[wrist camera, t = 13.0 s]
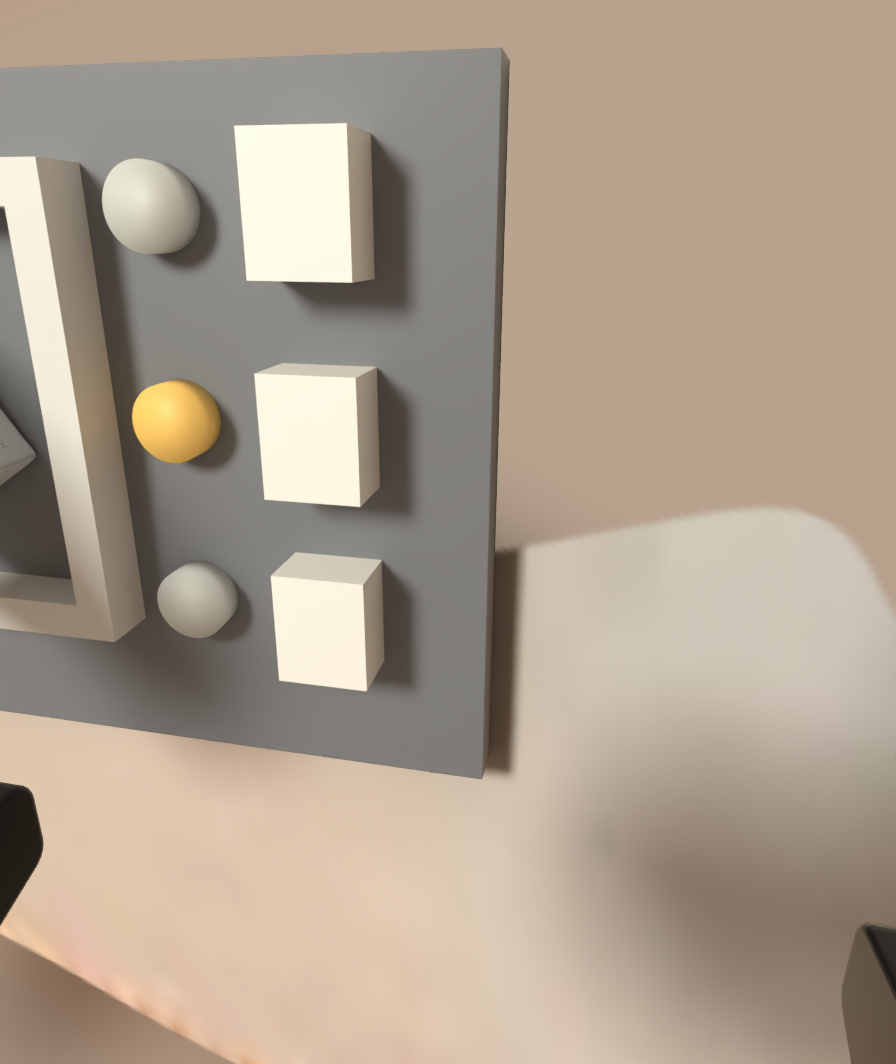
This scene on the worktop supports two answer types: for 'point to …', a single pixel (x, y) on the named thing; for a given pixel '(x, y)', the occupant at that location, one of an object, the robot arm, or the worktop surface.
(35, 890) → the worktop surface
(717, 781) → the worktop surface
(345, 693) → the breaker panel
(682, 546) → the worktop surface
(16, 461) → the skincare box
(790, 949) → the worktop surface
